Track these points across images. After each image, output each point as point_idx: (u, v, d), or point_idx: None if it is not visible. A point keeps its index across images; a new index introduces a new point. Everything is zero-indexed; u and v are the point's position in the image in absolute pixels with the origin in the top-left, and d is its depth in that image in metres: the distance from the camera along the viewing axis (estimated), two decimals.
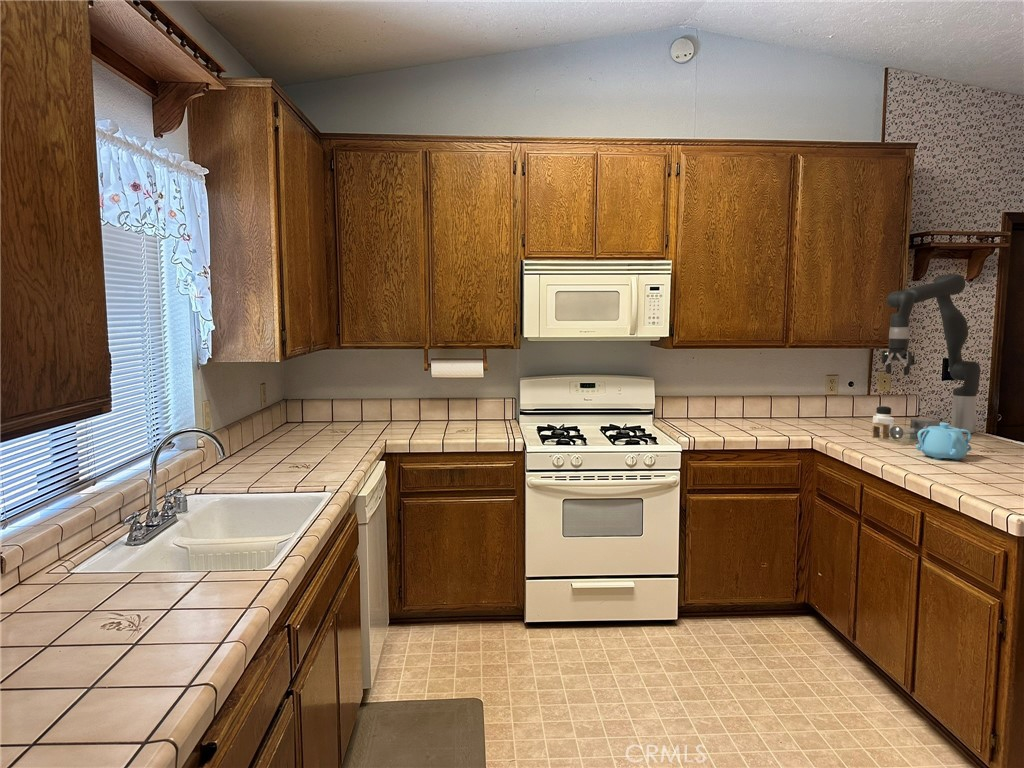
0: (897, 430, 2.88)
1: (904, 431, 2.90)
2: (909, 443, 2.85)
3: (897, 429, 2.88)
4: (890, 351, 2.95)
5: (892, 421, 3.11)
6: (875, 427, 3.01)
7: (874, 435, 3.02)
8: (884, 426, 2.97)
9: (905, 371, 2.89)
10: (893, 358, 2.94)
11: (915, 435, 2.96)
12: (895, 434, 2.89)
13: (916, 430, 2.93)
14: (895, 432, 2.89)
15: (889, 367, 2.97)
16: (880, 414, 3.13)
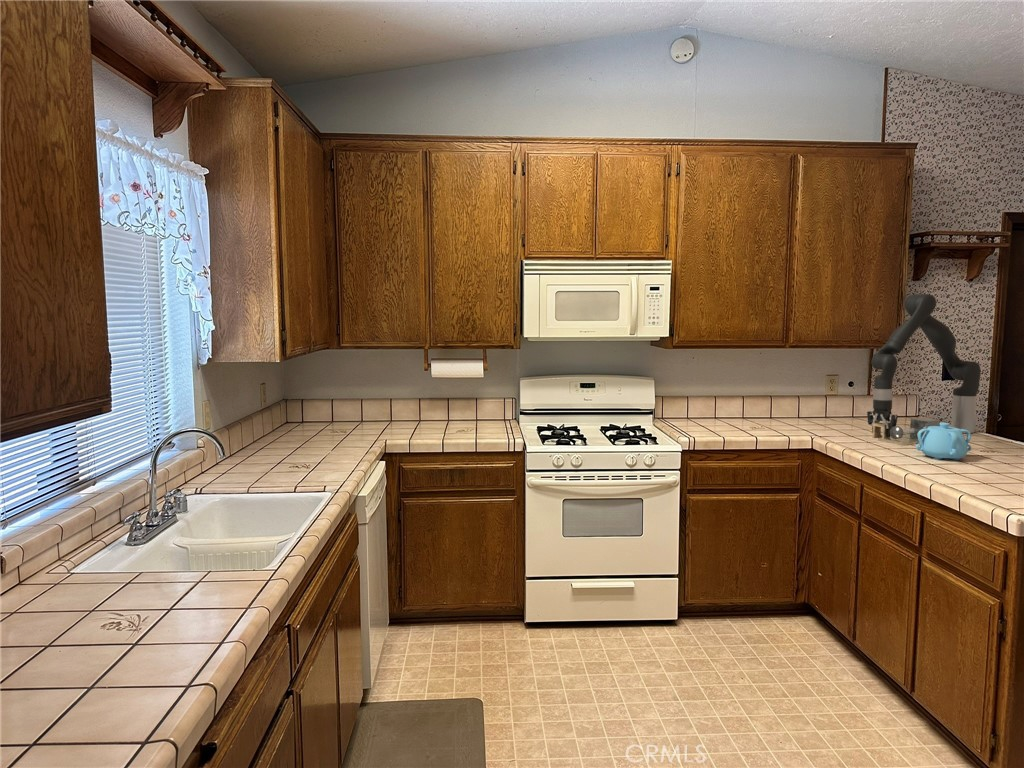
0: (897, 430, 2.88)
1: (904, 431, 2.90)
2: (909, 443, 2.85)
3: (897, 429, 2.88)
4: (874, 411, 3.01)
5: None
6: (876, 427, 3.01)
7: (875, 435, 3.01)
8: (885, 426, 2.96)
9: (887, 433, 2.96)
10: (878, 418, 2.99)
11: (915, 435, 2.96)
12: (895, 434, 2.89)
13: (916, 430, 2.93)
14: (895, 432, 2.89)
15: None
16: None
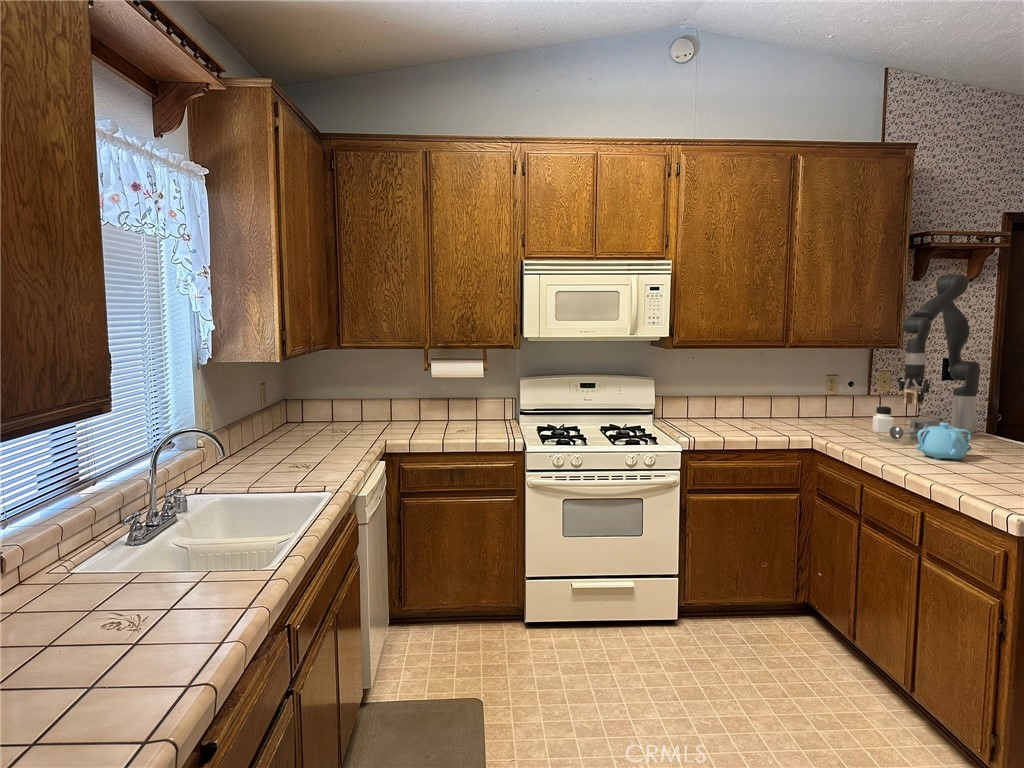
0: (897, 430, 2.88)
1: (904, 431, 2.90)
2: (909, 443, 2.85)
3: (897, 429, 2.88)
4: (906, 377, 2.93)
5: (892, 421, 3.11)
6: (908, 393, 2.93)
7: (907, 401, 2.94)
8: None
9: (919, 398, 2.88)
10: (910, 384, 2.92)
11: (915, 435, 2.96)
12: (895, 434, 2.89)
13: (916, 430, 2.93)
14: (895, 432, 2.89)
15: None
16: (880, 414, 3.13)
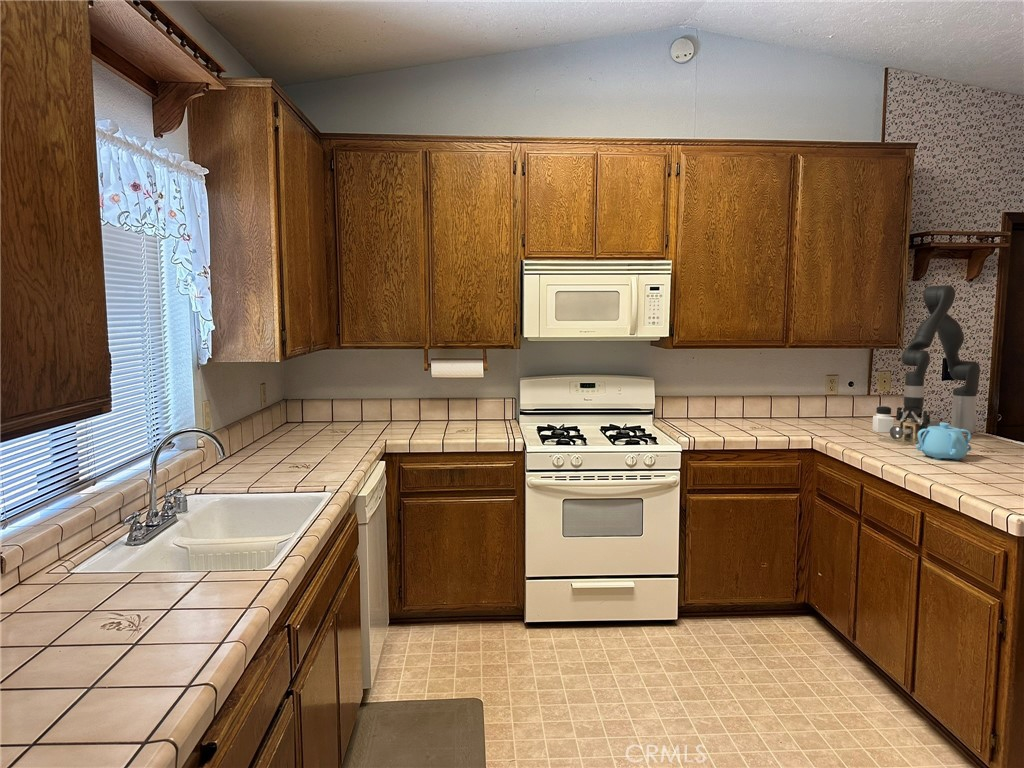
0: (897, 430, 2.88)
1: (904, 431, 2.90)
2: (909, 443, 2.85)
3: (897, 429, 2.88)
4: (905, 409, 2.95)
5: (892, 421, 3.11)
6: (906, 426, 2.95)
7: (905, 434, 2.95)
8: (916, 425, 2.90)
9: None
10: (908, 416, 2.93)
11: None
12: (895, 434, 2.89)
13: None
14: (895, 432, 2.89)
15: None
16: (880, 414, 3.13)
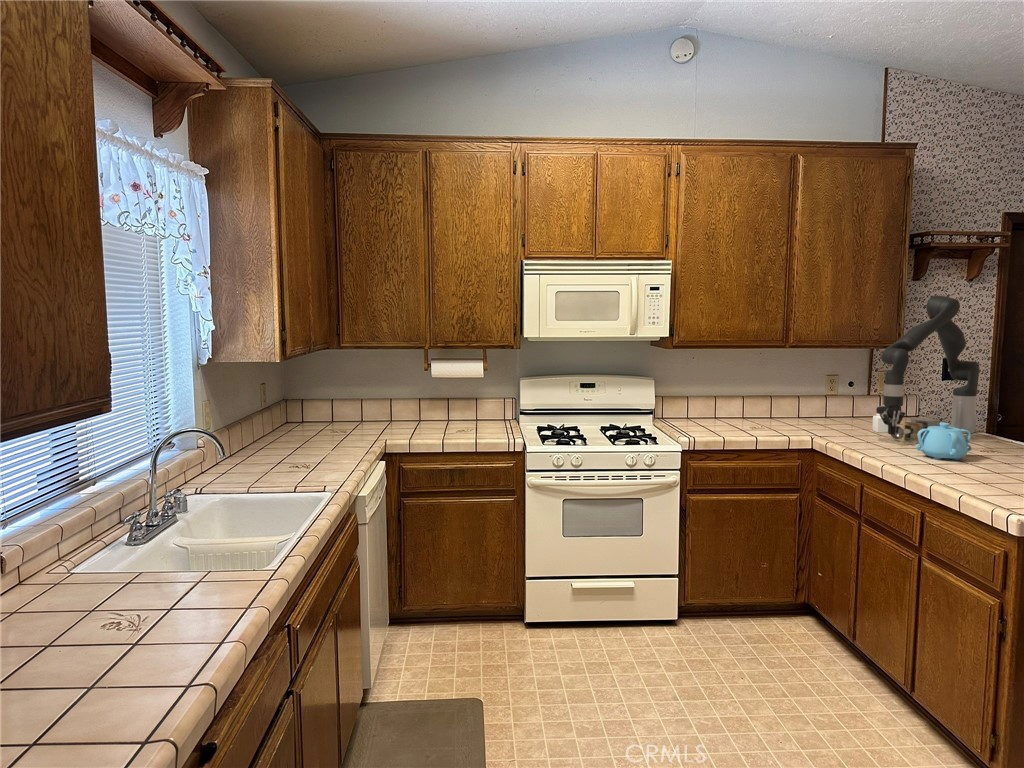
0: (898, 430, 2.89)
1: (905, 431, 2.90)
2: (909, 443, 2.85)
3: (898, 429, 2.89)
4: None
5: None
6: (906, 426, 2.95)
7: (905, 434, 2.95)
8: (916, 425, 2.90)
9: None
10: None
11: None
12: (896, 434, 2.90)
13: None
14: (896, 432, 2.90)
15: None
16: None
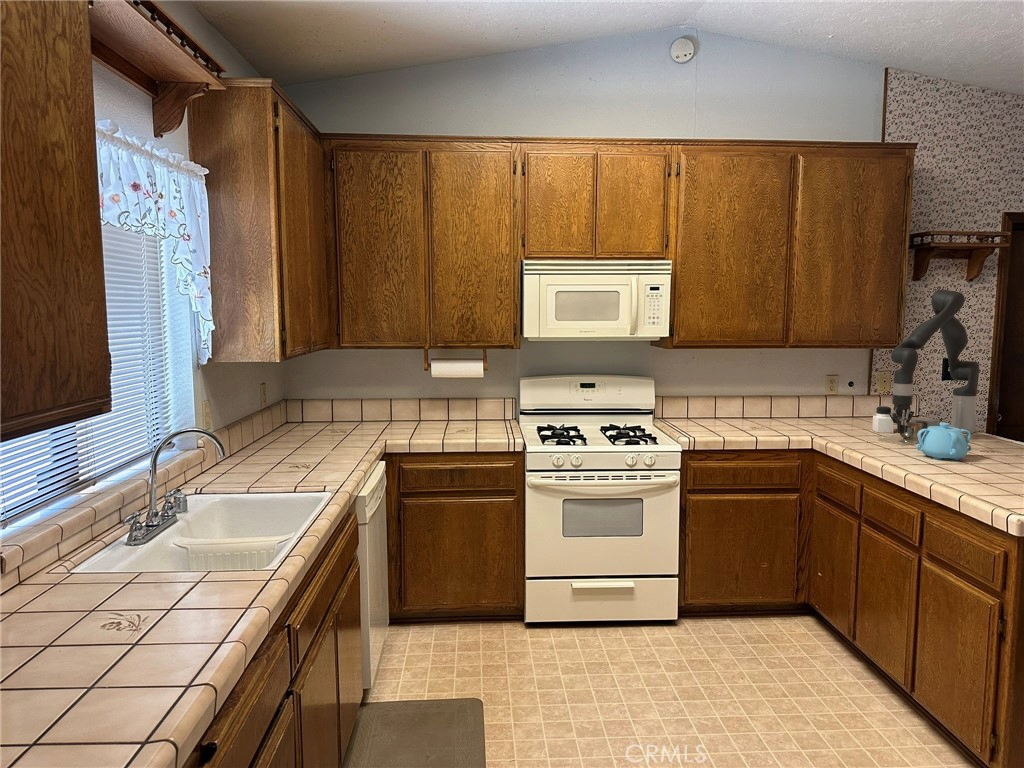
0: (907, 429, 2.91)
1: None
2: (909, 443, 2.85)
3: (907, 428, 2.91)
4: None
5: (892, 421, 3.11)
6: None
7: None
8: (916, 425, 2.90)
9: None
10: None
11: None
12: (905, 433, 2.92)
13: None
14: (905, 431, 2.92)
15: None
16: (880, 414, 3.13)
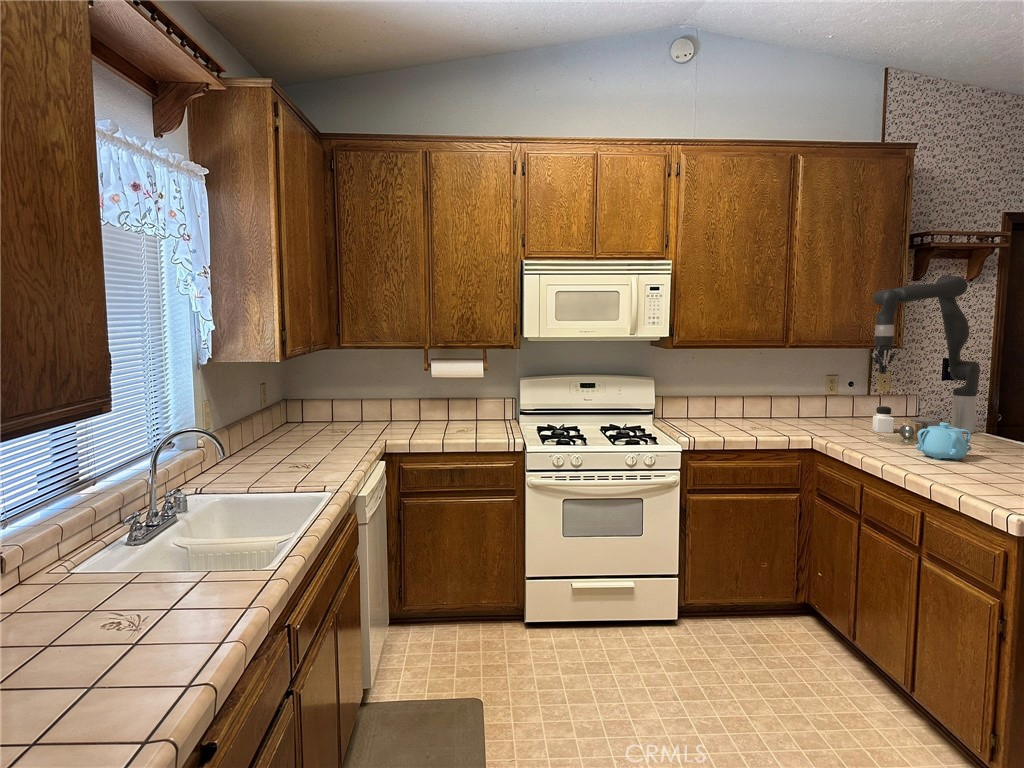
0: (907, 429, 2.91)
1: None
2: (909, 443, 2.85)
3: (907, 428, 2.91)
4: None
5: (892, 421, 3.11)
6: None
7: None
8: (916, 425, 2.90)
9: None
10: None
11: None
12: (905, 433, 2.92)
13: None
14: (905, 431, 2.92)
15: None
16: (880, 414, 3.13)
